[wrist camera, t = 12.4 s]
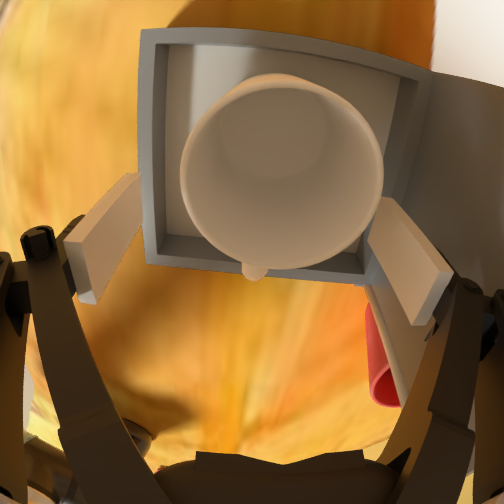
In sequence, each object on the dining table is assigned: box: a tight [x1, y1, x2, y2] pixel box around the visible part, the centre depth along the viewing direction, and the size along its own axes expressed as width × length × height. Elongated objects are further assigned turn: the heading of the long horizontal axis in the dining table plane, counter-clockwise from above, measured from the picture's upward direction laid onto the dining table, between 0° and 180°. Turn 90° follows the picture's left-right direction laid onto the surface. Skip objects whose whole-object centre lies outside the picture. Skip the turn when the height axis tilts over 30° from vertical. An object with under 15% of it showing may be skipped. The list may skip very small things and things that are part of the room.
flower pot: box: [365, 303, 401, 408], centre depth 27 cm, size 11×11×10 cm
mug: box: [180, 73, 384, 281], centre depth 17 cm, size 12×8×10 cm
